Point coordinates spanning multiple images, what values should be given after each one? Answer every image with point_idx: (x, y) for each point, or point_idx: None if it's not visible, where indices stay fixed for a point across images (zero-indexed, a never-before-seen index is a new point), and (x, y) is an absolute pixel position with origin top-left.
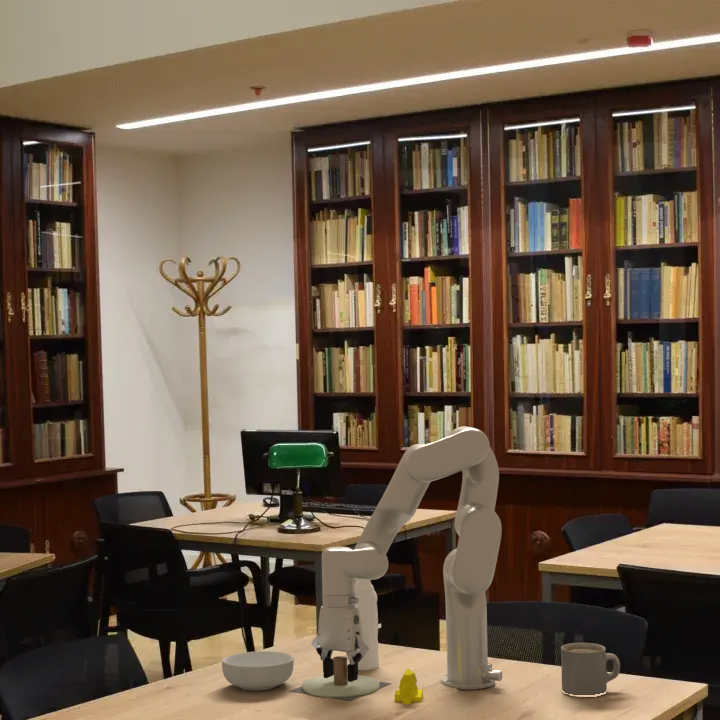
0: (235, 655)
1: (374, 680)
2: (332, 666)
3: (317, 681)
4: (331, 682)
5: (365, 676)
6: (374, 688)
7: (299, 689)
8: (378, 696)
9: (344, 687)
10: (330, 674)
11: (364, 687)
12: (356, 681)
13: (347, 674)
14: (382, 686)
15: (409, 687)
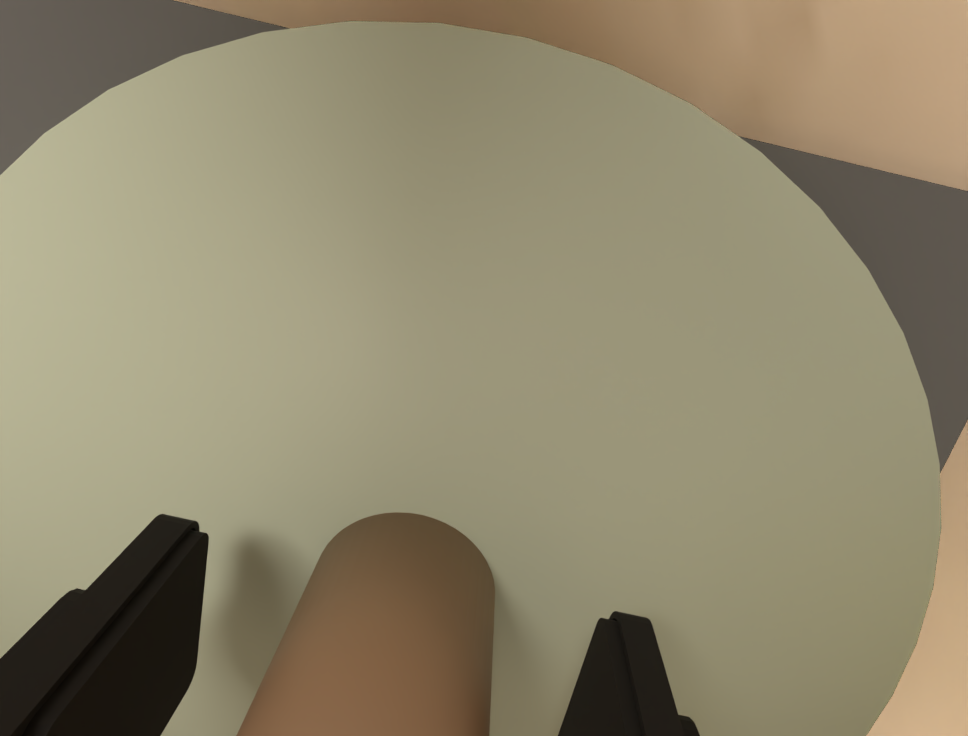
0: None
1: (827, 324)
2: (128, 649)
3: (62, 559)
4: (257, 560)
5: (610, 116)
6: (901, 668)
7: None
8: (922, 674)
9: (518, 718)
10: (189, 616)
11: (765, 671)
12: (567, 442)
13: (253, 70)
14: (948, 410)
15: None
